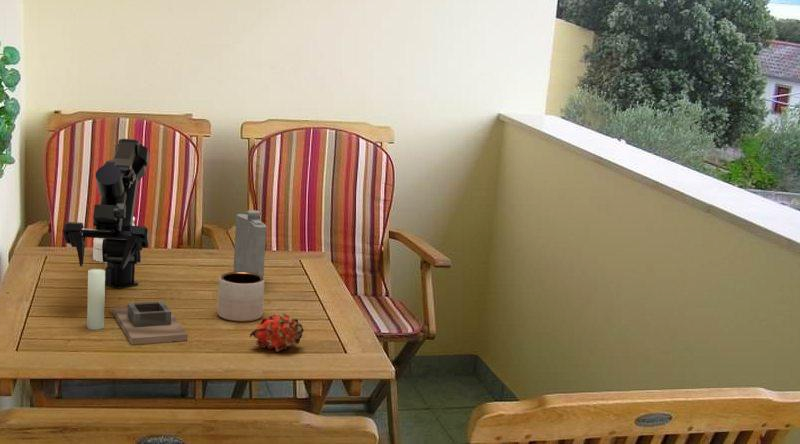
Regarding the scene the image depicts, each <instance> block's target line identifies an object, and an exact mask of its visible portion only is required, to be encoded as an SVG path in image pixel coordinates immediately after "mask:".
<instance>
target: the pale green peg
mask: <svg viewBox="0 0 800 444" xmlns="http://www.w3.org/2000/svg"><path fill="white" fill-rule="evenodd" d="M105 274H106V269H105V270H104V269H102V268H91V269H89V270H88V271H87V304H86V305H87V306H86V307H87V310H86V311H87V313H86V317H87V319H86V328H87V329H88V330H91V331H99V330H103V329H104V328H105V298H106V297H105V293H106V288H105V287H106V284H105Z"/></svg>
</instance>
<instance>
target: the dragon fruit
mask: <svg viewBox="0 0 800 444" xmlns="http://www.w3.org/2000/svg"><path fill="white" fill-rule="evenodd" d="M282 315H283V316H281V315H280V314H279V315H277V314H270V315H269V317H267V318H262V319H261V321H260V322H259V324H258V325H257V326H256V328H255V329H254V330H253V331H252V332H251V333H250V334H249V337H250V338H252V337H254V338H255V339H257V340H256V341H255V346H256V345H257V346H259V347H258V348H266V349H268V350H269V349H274V348H275V352H276V353H278V352H281V351H282V350H289V349H290V348H291V346H292V345H298V344H299V343H300V341H301V339H302V337H303V333H304V331H305V330H304V328H303V327H304V326H303V325H302V324H301V323H300V322H299V320H298V319H297V318H293V317H290V316H289V315H288V314H287V313H283V312H282Z"/></svg>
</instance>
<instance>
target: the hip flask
mask: <svg viewBox="0 0 800 444" xmlns="http://www.w3.org/2000/svg"><path fill="white" fill-rule="evenodd" d="M261 214H262V211H260V210H254V209H253V210H252V209H251V210H249V209H248V210H247V211H246V214H244V213H238V214H236V215H235V231H234V232H235V234H234V237H235V238H234V251H233V252H234V253H233V254H234V255H233V271H232V272H251V273H256V274H259V275H261V276H263V277H264V275H265V274H264V273H265V256H266V242H267V241H266V240H267V225H266V224H265V223H264V222H263V221H261V220H260V217H261ZM264 278H265V277H264Z"/></svg>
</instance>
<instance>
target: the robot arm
mask: <svg viewBox="0 0 800 444" xmlns="http://www.w3.org/2000/svg"><path fill="white" fill-rule="evenodd" d="M114 149H115V151H114V156H113V158H112V159H110V160H106V161H105V163H104V164H103V165H102V166H101V167H99V168H98V169H97V170H96V171H95V179H96V184H97V185H96V186H97V190H98V193H99V195H100V197H99V198H100V199H99V203H98V204H94V205H93V214H92V219H93V221H92V223H93V227H94V228H85V227H84V223H83V222H75V221H67V222H66V223H65V224H63V228H62V233H63V237H64V241H65V243H66V244H69V245H70V246H71V247H73V248H75V249H76V251H77V257H78V263H79V266H80V267H83V264H84V258H85V239H86V238H91V239H94V238H104V239H103V243H102V255H103V262H107V263H106V267H105V285H106V286H107V285H108V286H110V287H113V288H115V289H123V288H127V287H133V286H138V284H139V282H137V281H135V266H136V265H137V264H138V263H141V262H142V261H141V260H142V259H141V258H142V257H141V255H142V254H141V253H142V252H141V251H143V249H147V248H149V246H150V234H149V233H150V232H149V228H148V227H147V226H146V225H135V226H132V222H133V217H134V212H135V207H136V206H135V204H136V198H137V192H138V191H137V190H138V186H139V185H138V184H139V182H140V180H141V179H142V178H143V177H144V176H145V175H146V170H147V167H149V166H150V152H149V148H148V147H146V146H145V145H143V144H141V142H140V140H137V139H134V138H121V139H120V138H119V139H118V144H117V145H116V146H115V147H114Z"/></svg>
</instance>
